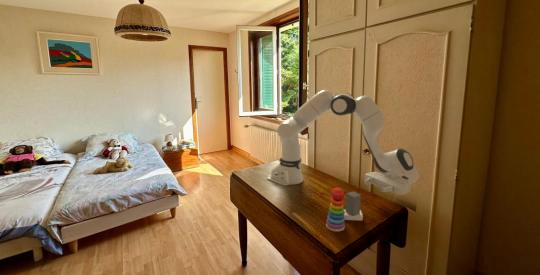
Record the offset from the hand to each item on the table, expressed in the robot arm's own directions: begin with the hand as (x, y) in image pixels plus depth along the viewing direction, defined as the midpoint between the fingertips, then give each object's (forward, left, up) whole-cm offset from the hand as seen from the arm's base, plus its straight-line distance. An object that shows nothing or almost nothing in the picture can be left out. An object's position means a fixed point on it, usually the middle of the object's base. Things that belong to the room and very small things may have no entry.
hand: (373, 186), depth 116 cm
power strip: (-8, -11, -13) cm, 19 cm away
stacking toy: (-11, -21, -14) cm, 27 cm away
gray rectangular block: (-6, -11, -12) cm, 17 cm away
